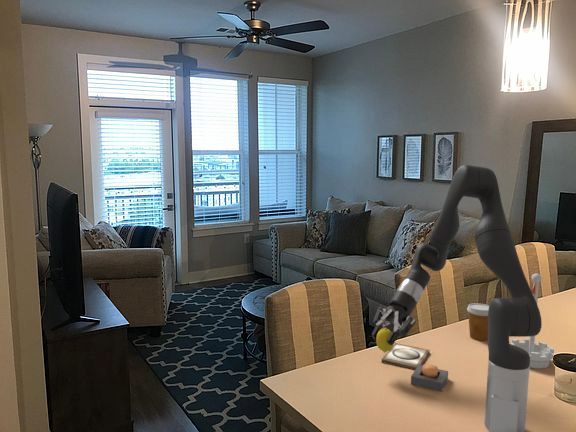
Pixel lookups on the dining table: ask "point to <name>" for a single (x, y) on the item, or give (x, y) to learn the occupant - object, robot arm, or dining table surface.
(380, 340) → the lemon
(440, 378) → the button housing
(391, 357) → the drawing board
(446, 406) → the dining table surface
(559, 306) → the dining table surface
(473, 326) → the disposable coffee cup
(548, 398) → the dining table surface
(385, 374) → the dining table surface
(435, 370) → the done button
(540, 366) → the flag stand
